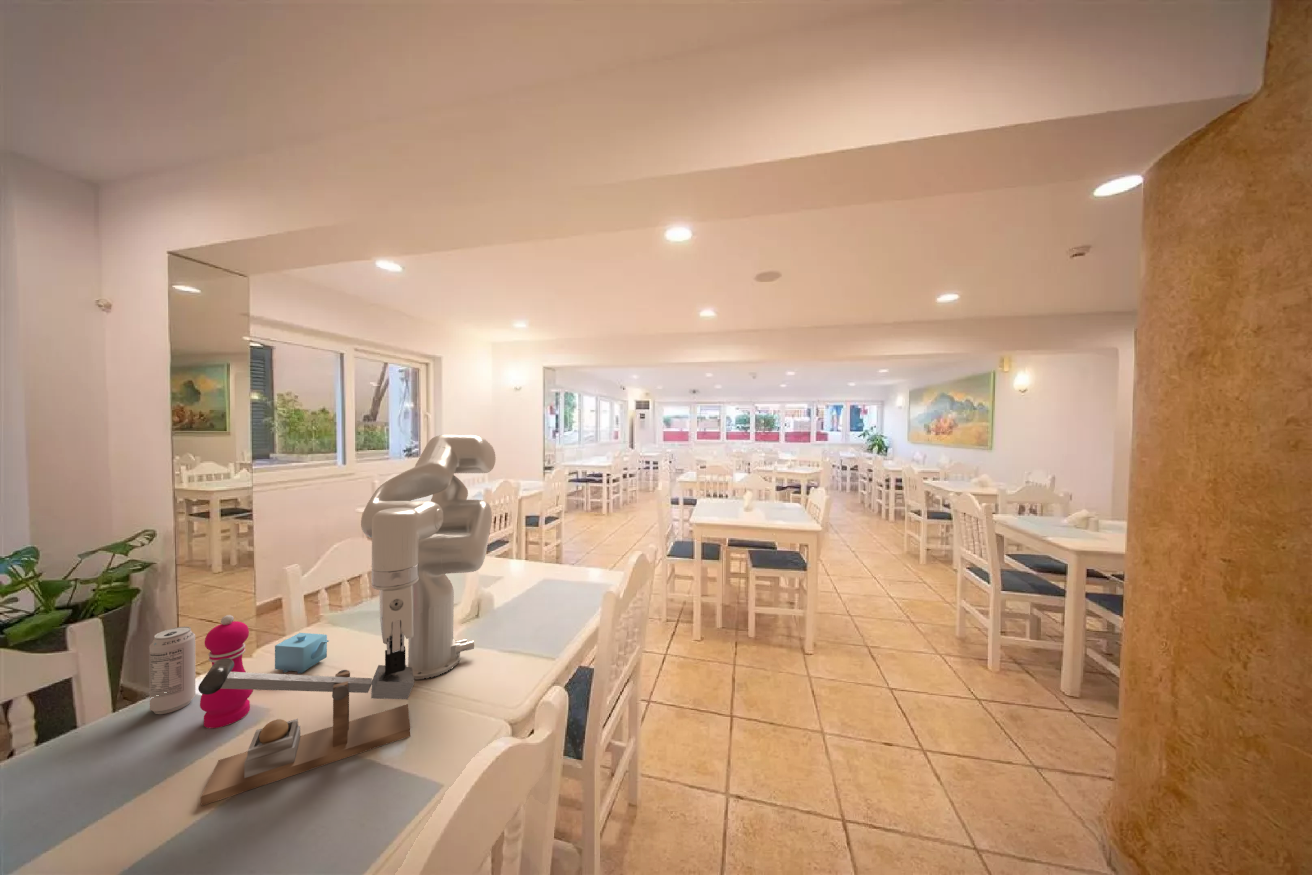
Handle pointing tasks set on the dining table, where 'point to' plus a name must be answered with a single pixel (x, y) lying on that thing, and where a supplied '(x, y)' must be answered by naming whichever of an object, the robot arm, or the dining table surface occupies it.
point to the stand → (306, 747)
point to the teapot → (300, 652)
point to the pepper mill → (230, 644)
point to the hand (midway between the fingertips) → (395, 670)
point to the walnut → (273, 731)
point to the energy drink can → (172, 670)
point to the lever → (307, 681)
